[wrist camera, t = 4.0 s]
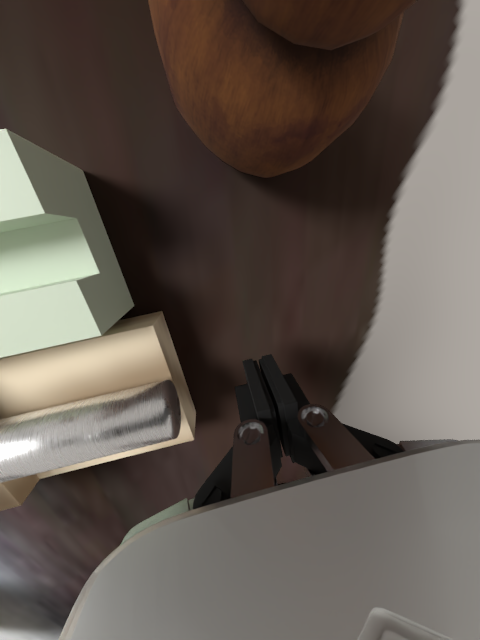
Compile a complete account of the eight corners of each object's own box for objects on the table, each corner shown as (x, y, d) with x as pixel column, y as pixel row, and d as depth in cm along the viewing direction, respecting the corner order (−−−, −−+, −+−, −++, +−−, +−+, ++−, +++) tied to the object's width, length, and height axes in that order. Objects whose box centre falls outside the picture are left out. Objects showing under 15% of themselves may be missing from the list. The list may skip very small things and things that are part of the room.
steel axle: (-89, 473, 13) (-168, 540, 10) (-134, 438, 12) (-238, 504, 9) (183, 407, 14) (177, 452, 11) (168, 368, 13) (157, 408, 10)
